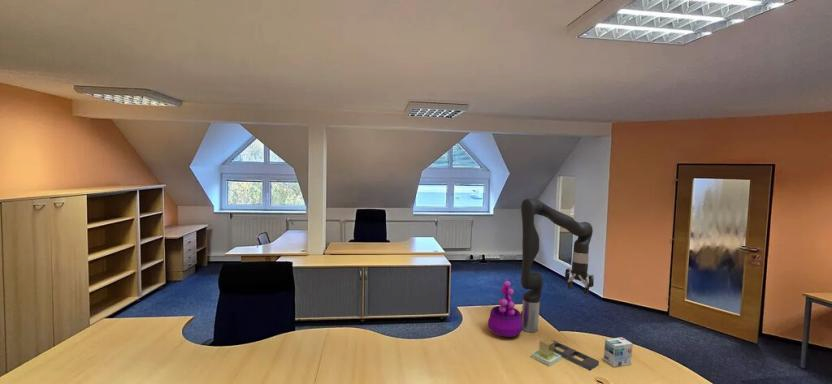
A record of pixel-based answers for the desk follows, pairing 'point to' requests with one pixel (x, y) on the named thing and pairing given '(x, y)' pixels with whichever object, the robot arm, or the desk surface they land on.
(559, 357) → the parts tray
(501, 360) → the desk surface
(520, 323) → the decorative plant
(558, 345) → the rail
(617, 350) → the light bulb box
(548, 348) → the tan rectangular block
